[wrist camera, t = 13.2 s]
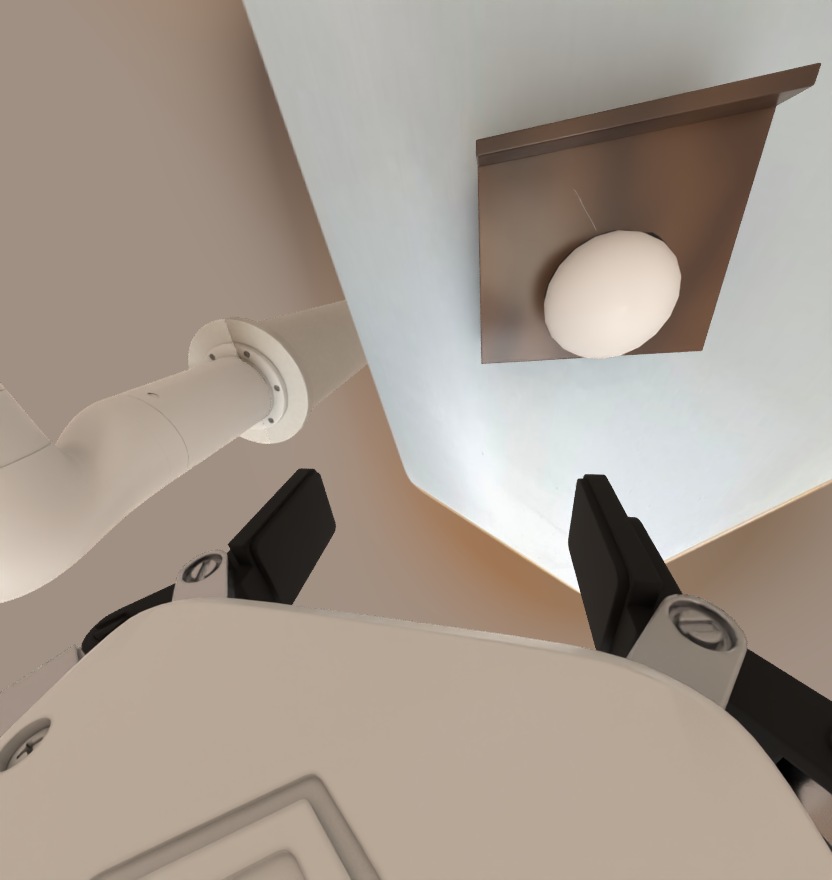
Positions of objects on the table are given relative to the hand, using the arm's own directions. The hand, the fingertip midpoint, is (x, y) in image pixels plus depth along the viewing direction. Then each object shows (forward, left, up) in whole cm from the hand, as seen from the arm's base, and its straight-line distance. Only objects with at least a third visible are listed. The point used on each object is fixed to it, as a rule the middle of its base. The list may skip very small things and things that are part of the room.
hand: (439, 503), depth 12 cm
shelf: (+9, +7, -26) cm, 29 cm away
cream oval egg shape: (+9, +6, -19) cm, 21 cm away
